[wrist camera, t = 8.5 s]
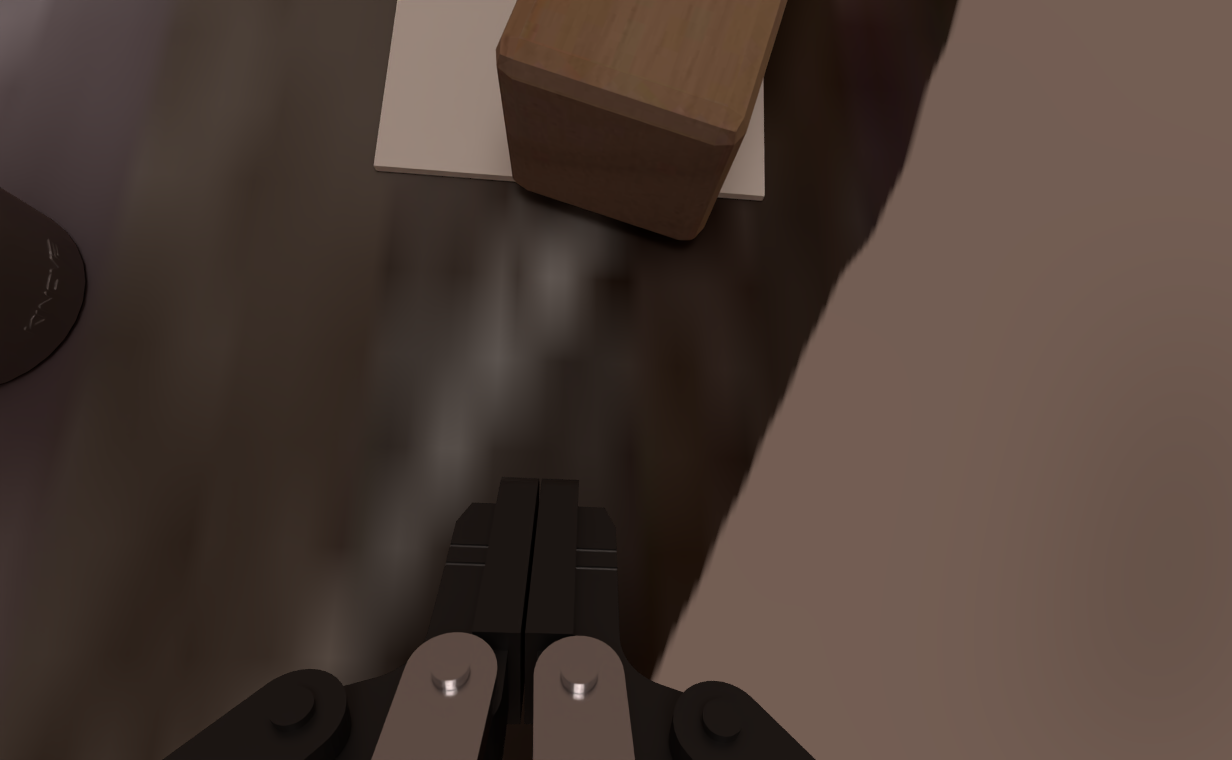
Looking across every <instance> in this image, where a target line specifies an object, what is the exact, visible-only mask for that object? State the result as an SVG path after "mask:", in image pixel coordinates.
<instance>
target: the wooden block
mask: <svg viewBox="0 0 1232 760" xmlns="http://www.w3.org/2000/svg"><path fill="white" fill-rule="evenodd" d="M786 3H787V0H517V1H516V4H515V6H514V8H513V11H512V13H511V15H510V17H509V20H508V22H507V24H506V27H505V29H504V31H503V33H502V36H501V38H500V40H499V43H498V45H497V47H496V66H497V73H498V80H499V87H500V94H501V101H502V108H503V115H504V122H505V128H506V135H507V142H508V149H509V156H510V163H511V170H512V177H513V179H514V180H515V181H516V183H518V184H519V185H520V186H522V187H523V188H525V189H526V190H528V191H531V192H534V193H537V194H540V195H543V196H546V197H549V198H552V199H555V200H558V201H561V202H564V203H567V204H570V205H573V206H577V207H580V208H583V209H586V210H589V211H592V212H595V213H598V214H601V215H604V216H607V217H610V218H613V219H616V220H619V221H622V222H625V223H628V224H631V225H634V226H637V227H640V228H643V229H646V230H649V231H652V232H655V233H658V234H661V235H664V236H667V237H670V238H673V239H676V240H692V239H694V238H695V237H696V236H697V235H698V234H699V233H700V232H701V230H702V229H703V228H704V226H705V224H706V222H707V220H708V217H709V215H710V213H711V211H712V208H713V206H714V204H715V202H716V199H717V197H718V195H719V193H720V190H721V188H722V186H723V184H724V181H725V179H726V177H727V175H728V172H729V170H730V168H731V166H732V163H733V161H734V159H735V157H736V155H737V152H738V150H739V148H740V146H741V143H742V141H743V139H744V137H745V134H746V132H747V129H748V126H749V122H750V119H751V116H752V113H753V110H754V106H755V103H756V100H757V97H758V93H759V90H760V87H761V84H762V81H763V77H764V74H765V71H766V68H767V64H768V61H769V58H770V55H771V52H772V48H773V45H774V42H775V39H776V35H777V32H778V29H779V26H780V23H781V19H782V16H783V13H784V10H785V6H786Z"/></svg>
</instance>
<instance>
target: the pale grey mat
mask: <svg viewBox="0 0 1232 760" xmlns="http://www.w3.org/2000/svg"><path fill="white" fill-rule="evenodd" d="M516 1H517V0H397V7H396V14H395V21H394V28H393V35H392V42H391V49H390V56H389V63H388V70H387V77H386V84H385V90H384V97H383V104H382V111H381V118H380V125H379V132H378V139H377V146H376V153H375V160H374V167H375V169H376V171H385V172H398V173H411V174H424V175H436V176H449V177H462V178H475V179H488V180H501V181H514V182H516V181H515V180H514V179H513V177H512V170H511V163H510V156H509V149H508V142H507V135H506V128H505V122H504V115H503V108H502V101H501V94H500V87H499V80H498V73H497V66H496V47H497V45H498V43H499V40H500V38H501V36H502V33H503V31H504V29H505V27H506V24H507V22H508V20H509V17H510V15H511V13H512V11H513V8H514V6H515V4H516ZM764 196H765V190H764V93H763V81H762V84H761V87H760V90H759V93H758V97H757V100H756V103H755V106H754V110H753V113H752V116H751V119H750V122H749V126H748V129H747V132H746V134H745V137H744V139H743V141H742V143H741V146H740V148H739V150H738V152H737V155H736V157H735V159H734V161H733V163H732V166H731V168H730V170H729V172H728V175H727V177H726V179H725V181H724V184H723V186H722V188H721V190H720V193H719V195H718V197H720V198H732V199H745V200H758V201H762V200H763V198H764Z"/></svg>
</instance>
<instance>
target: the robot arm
mask: <svg viewBox="0 0 1232 760" xmlns="http://www.w3.org/2000/svg"><path fill="white" fill-rule="evenodd" d="M84 288H85V274H84V266H83V261H82V259H81V256H80V254H79V251H78V248H77V246H76V245H75V243H74V242H73V240H72V239H71V238H70V236H69V235H68V234H67V232H66V231H65V230H64V229H63V228H61V227H60V226H59V225H58V224H57V223H55V222H54V221H53V220H52V219H50V218H49V217H47V216H45V215H44V214H42V213H41V212H39V211H37V210H36V209H34V208H33V207H31V206H29V205H28V204H26V203H25V202H23V201H21V200H20V199H18V198H17V197H15V196H13V195H12V194H10V193H9V192H7V191H5V190H4V189H2V188H1V187H0V384H2V383H5V382H8V381H10V380H12V379H14V378H16V377H18V376H20V375H22V374H24V373H26V372H28V371H29V370H31V369H32V368H34V367H35V366H36V365H37V364H39V363H40V362H41V361H43V360H44V359H45V358H47V357H48V356H49V355H50V354H51V353H52V352H53V351H54V350H55V349H56V348H57V346H58V345H59V344H60V343H61V342H62V341H63V340H64V339H65V337H66V336H67V334H68V332H69V331H70V329H71V327H72V326H73V324H74V323H75V321H76V319H77V316H78V313H79V310H80V308H81V305H82V302H83V296H84ZM578 487H579V480H564V479H542V483H541V492H540V501H539V479H536V478H513V477H502V478H501V482H500V487H499V492H498V498H497V503H496V504H492V503H472V504H471V505H470V506H469V507H468V508H467V510H466V511H465V512H464V513H463V514H462V515H461V517H460V518H459V519H458V520H457V521H456V525H455V529H454V533H453V536H452V540H451V547H450V548H449V552H448V556H447V560H446V566H445V567H444V571H443V575H442V579H441V583H440V587H439V591H438V595H437V598H436V602H435V606H434V610H433V614H432V618H431V622H430V626H429V630H428V633H427V636H426V639H425V641H424V643H423V644H422V645H421V646H420V647H418V648H417V649H416V650H415V652H414V653H413V654H412V655H411V657H410V658H409V660H408V661H407V662H406V663H405V664H404V665H402V666H401V667H399V668H397V669H396V670H394V671H392V672H390V673H387V674H385V675H382V676H379V677H376V678H372V679H368V680H365V681H361V682H357V683H354V684H350V685H346V686H343V685H342V683H341V682H340V681H339V680H338V679H337V678H336V677H335V676H333V675H332V674H330V673H328V672H326V671H322V670H316V669H305V670H298V671H293V672H290V673H287V674H284V675H282V676H280V677H278V678H276V679H274V680H273V681H271V682H269V683H268V684H266V685H265V686H264V687H262V688H261V689H259V690H258V691H257V692H255V693H254V694H253V695H251V696H250V697H248V698H247V699H246V700H244V701H243V702H241V703H240V704H239V705H237V706H236V707H235V708H233V709H232V710H230V711H229V712H228V713H226V714H225V715H224V716H222V717H221V718H219V719H218V720H217V721H215V722H214V723H213V724H211V725H210V726H208V727H207V728H206V729H204V730H203V731H201V732H200V733H199V734H197V735H196V736H195V737H193V738H192V739H190V740H189V741H188V742H186V743H185V744H184V745H182V746H181V747H179V748H178V749H177V750H175V751H174V752H172V753H171V754H170V755H168V756H167V757H166V758H164V759H163V760H502V758H503V752H504V744H505V736H506V727H507V724H520V723H521V713H522V704H523V694H524V684H525V715H524V724H533V751H532V760H815V759H814V758H813V757H812V756H811V755H810V754H809V753H808V752H807V751H806V750H805V749H804V748H803V747H802V746H801V745H800V744H799V743H798V742H797V741H796V740H795V739H794V738H793V737H792V736H791V735H790V734H789V733H788V732H787V731H786V730H785V729H783V728H782V727H781V726H780V725H779V724H778V723H777V722H776V721H775V720H774V719H773V718H772V717H771V716H770V715H769V714H768V713H767V712H766V711H765V710H764V709H763V708H762V707H761V706H760V705H759V704H758V703H757V702H756V701H754V700H753V699H752V697H750V696H749V695H748V694H747V693H746V692H744V691H743V690H741V689H739V688H738V687H735V686H733V685H731V684H728V683H725V682H719V681H706V682H700V683H698V684H695V685H693V686H691V687H690V688H688V689H687V690H686V691H685V692H681V691H678V690H675V689H672V688H669V687H666V686H663V685H660V684H658V683H655V682H653V681H651V680H649V679H647V678H646V677H644V676H642V675H641V674H640V673H639V672H637V671H636V670H635V669H634V668H633V667H632V666H631V665H630V663H629V662H628V660H627V659H626V657H625V655H624V653H623V651H622V648H621V645H620V637H619V608H618V578H617V553H616V527H615V525H614V523H613V522H612V520H611V518H610V517H609V515H608V513H607V511H606V510H605V508H596V507H578Z"/></svg>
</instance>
